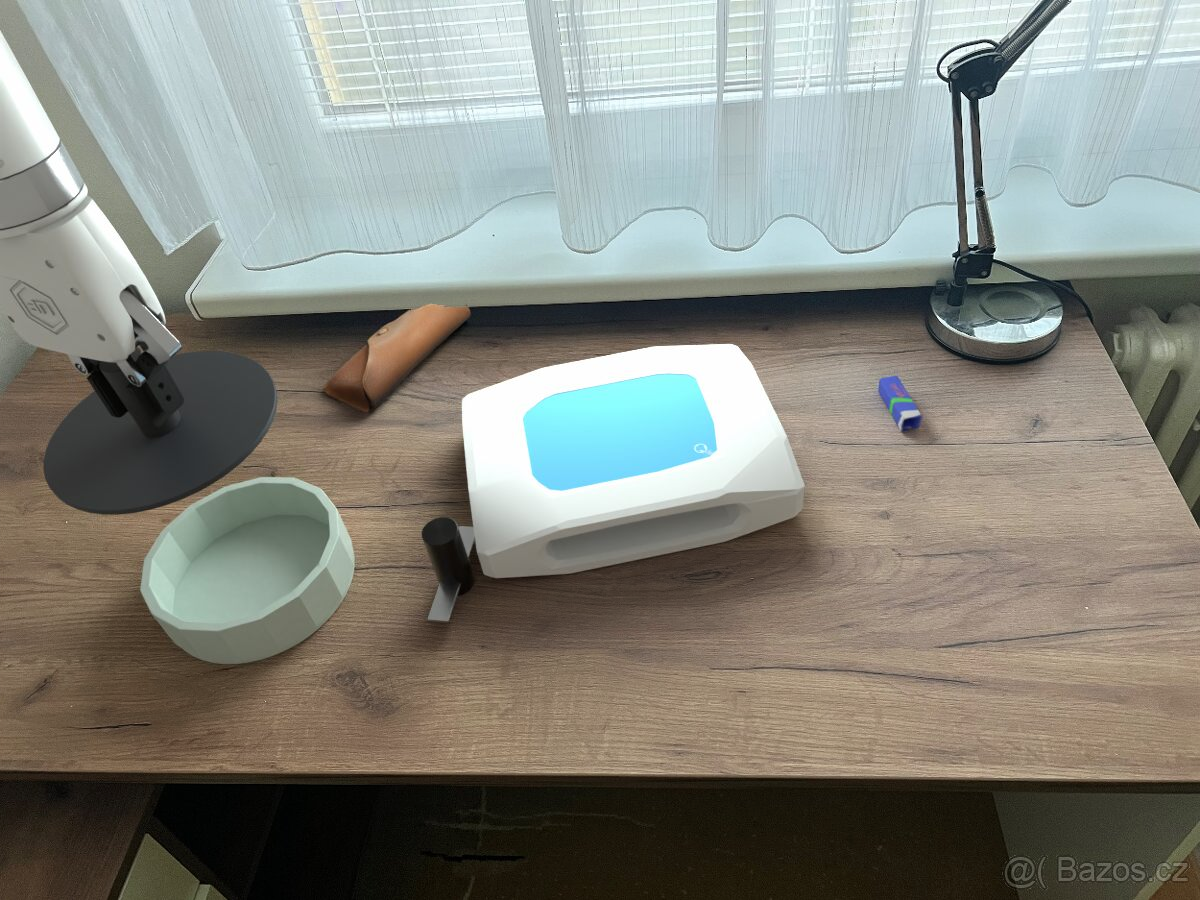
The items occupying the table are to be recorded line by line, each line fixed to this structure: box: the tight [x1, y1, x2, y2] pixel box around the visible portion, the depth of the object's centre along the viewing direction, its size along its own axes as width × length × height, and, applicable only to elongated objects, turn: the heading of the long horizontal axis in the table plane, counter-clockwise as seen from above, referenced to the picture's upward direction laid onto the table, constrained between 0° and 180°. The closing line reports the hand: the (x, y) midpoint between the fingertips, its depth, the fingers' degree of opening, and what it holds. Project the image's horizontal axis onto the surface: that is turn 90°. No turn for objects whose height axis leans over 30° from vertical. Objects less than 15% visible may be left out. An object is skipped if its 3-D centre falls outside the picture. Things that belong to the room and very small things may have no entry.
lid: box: [42, 346, 278, 516], centre depth 66 cm, size 18×18×8 cm
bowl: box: [139, 476, 356, 665], centre depth 76 cm, size 17×17×5 cm
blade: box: [421, 516, 476, 624], centre depth 73 cm, size 10×3×7 cm, turn 171°
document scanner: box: [461, 343, 806, 579], centre depth 81 cm, size 21×28×6 cm
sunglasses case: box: [322, 302, 472, 414], centre depth 98 cm, size 18×7×7 cm
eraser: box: [877, 375, 923, 432], centre depth 85 cm, size 2×6×2 cm, turn 7°
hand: (148, 408), depth 66 cm, fingers closed on lid, 3 cm apart
